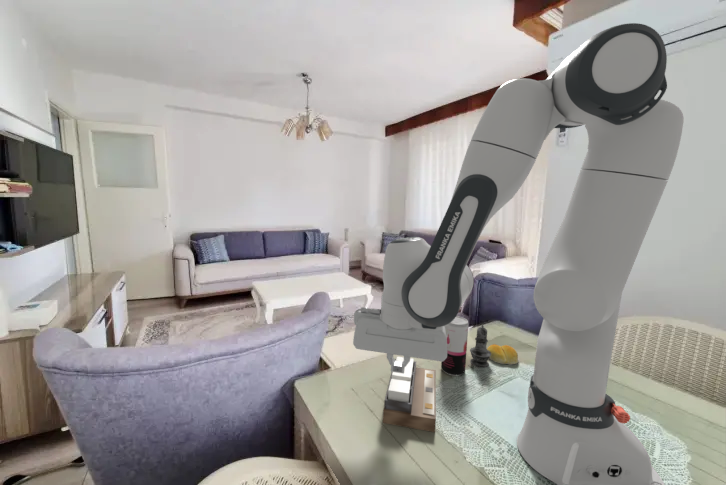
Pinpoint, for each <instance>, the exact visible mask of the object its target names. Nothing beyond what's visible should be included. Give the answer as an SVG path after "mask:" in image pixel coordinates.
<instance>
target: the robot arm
mask: <svg viewBox="0 0 726 485" xmlns="http://www.w3.org/2000/svg"><path fill="white" fill-rule="evenodd" d="M667 61H668V60H667V49H666V45H665V43H664V40H663V38H662V37H661V35H660V34H659V33H658V32H657V30H656V29H654V28H652V27H651V26H649V25H647V24H644V23H635V22H633V23H631V22H629V23H622V24H619V25H618V24H617V25H615V26H612V27H609V28H607V29H603V30H601V31H600V32H598V33H596V34H594V35H592V36H591V37H590V38H588V39H587V40H585V41H584V42H583V43H582V44H581V45H580V46H579V47H578V48H576V50H574V51H573V52H572V53H570V55H568V56H567V57H566V58H565V59H564V60H562V62H561V63H560V64H559V66H558V67H557V68H556V69H555V70H554V71H553V72H552V73H551V74H550V75H549V76H548V77H547V78H546V79H543V80H536V79H532V78H515V79H512V80H508V81H506V82H505V83H503V84H502V85H500V87H498V88H497V89H496V91H495V93H494V94H493V96H492V97H491V99H490V100H489V102H488V104H487V106H486V107H485V109H484V111H483V113H482V116H481V117H480V119H479V120H478V122H477V126H476V127H475V130H474V132H473V134H472V136H471V139H470V142H469V144H468V147H467V149H466V151H465V155H464V158H463V161H462V164H461V167H460V171H459V174H458V177H457V180H456V181H457V182H456V184H455V187H454V190H453V193H452V198H451V200H450V203H449V204H448V208H447V210H446V212H445V214H444V217H443V218H442V221H441V223H440V225H439V228H438V229H437V232H436V234H435V235H434V239H433V241H432V243H431V244H429V243H428V242H427V241H426V240H425V239H424V238H422V237H419V236H409V237H402V238H396V239H394V240H391V241H390V242H389V243H388V244H387V245H386V249H385V252H384V257H383V266H382V282H383V291H382V293H381V301H380V308H368V307H365V306H364V307H360V308H358V309H356V310H355V311H354V313H353V323H354V325H355V328H354V333H353V338H352V340H353V341H352V345H353V346H354V348H355V349H356V350H362V351H369V352H375V353H382V354H386V359H387V361H388V362H389V364H390V373H391V372H396V373H403V374H404V371H405V367H406V365H407V364H408V363H409V362H410V358H413V359H415V358H416V359H422V360H428V361H433V362H434V361H437V362H443V361H444V360H445V359H446V358H447V337H446V330H445V327H444V326H445V325H447V324H449V323H450V322H452V321H453V320H454V319H455V317H456V316H458V313H459V311H460V310H461V307H462V306H463V304H464V303H465V301H466V300H467V298H468V297H469V296H470V294H471V292H472V291H473V288H474V284H475V278H474V277H475V276H474V274H473V271H472V270H471V268H470V266H468V262H469V260H470V258H471V256H472V253H473V251H474V249H475V248H476V245H477V243H478V242H479V239H480V236H481V234H482V232H483V230H484V229H485V227H486V226H487V224H488V223H489V222H490V221H491V220H492V218H493V217H494V216H495V215H496V214H497V213H498V212H499V211H500V210H501V209H502V208H503V207H504V206H505V205H506V204H508V203H509V202H510V201H511V200H512V199H513V198H514V197H515V195H516V194H517V193H518V191H520V189H521V187H522V186H523V185H524V183H525V181H526V180H527V178H528V176H529V174H530V172H531V171H532V169H533V167H534V165H535V163H536V160H537V158H538V156H539V154H540V151H541V150H542V146H543V144H544V141H545V140H546V139H547V138H548V136H549V135H550V133H552V131H553V130H554V129H574V128H578V127H581V126H584V128H585V129H586V131H587V136H588V137H587V138H588V144H587V152H586V154H585V157H584V159H583V162H582V165H581V167H580V170H579V173H578V177H577V180H576V182H575V186H574V189H573V191H572V195H571V198H570V200H569V203H568V206H567V209H566V212H565V215H564V218H563V219H562V222H561V224H560V225H559V228H558V230H557V233H556V235H555V237H554V239H553V241H552V243H551V246H550V248H549V251H548V253H547V255H546V258H545V259H544V262H543V264H542V267H541V269H540V272H539V274H538V277H537V279H536V280H537V281H536V283H535V286H534V287H533V288H534V289H533V302H534V306H535V308H536V310H537V312H538V313H539V315H540V316H541V317H542V318H543V319H542V323H541V327H540V330H539V333H538V337H537V339H536V340H537V341H536V351H535V358H534V368H533V374H532V375H531V377H530V382H529V387H528V391H527V393H528V394H527V405H528V406H527V407H528V408H527V412H526V416H525V419H524V423H523V425H522V427H521V429H520V432H519V433H518V435H517V438H516V445H517V448H518V451H519V453H520V454H521V457H522V458H523V459H524V460H525V462H527V464H528V465H530V467H531V468H532V469H534V470H535V471H536V472H537V473H539V475H541V476H543V477H544V478H546V479H548V480H549V481H551V482H552V483H554V484H555V485H665V482H664V481H663V479H662V478H661V476H660V474H659V473H658V472H657V470H656V469H655V468H654V467H653V466H652V465H653V464H652V460H651V457H650V455H649V452H648V451H647V449H646V448H645V446H644V444H643V443H642V442H641V440H640V439H639V438H638V437H637V435H636V434H635V433H634V432H633V431H632V430H631V429H630V427H628V426H627V425H626V424H627V423H628V422H630V420H631V416H630V415H629V413H628V411H627V412H626V410H625V409H624V407H622V406H619V405H616V401H615V400H614V399H613V398H612V397H611V396H609V395H608V394H607V389H608V388H607V387H608V380H609V373H610V369H611V368H610V366H611V360H612V353H613V348H614V342H615V336H616V332H617V325H618V319H619V314H620V313H619V312H620V308H621V301H622V295H623V291H624V288H625V286H626V284H627V282H628V279H629V276H630V275H631V271H632V269H633V266H634V264H635V262H636V259H637V257H638V255H639V252H640V249H641V247H642V244H643V243H644V239H645V237H646V234H647V232H648V230H649V227H650V225H651V222H652V220H653V218H654V216H655V213H656V210H657V209H658V206H659V202H660V200H661V198H662V196H663V194H664V191H665V189H666V186H667V183H668V181H669V179H670V176H671V174H672V171H673V168H674V165H675V162H676V159H677V155H678V151H679V147H680V144H681V138H682V134H683V127H684V114H683V111H682V110H681V109H680V107H679V106H677V105H676V104H674V103H672V102H670V101H668V100H664V99H662V98H663V96H664V95H665V93H666V92H667V89H668V82H667V78H666V72H667V71H666V70H667V63H668V62H667ZM660 91H661V92H660ZM659 92H660V94H659V95H658V93H659ZM657 95H658V96H657ZM656 96H657V97H656ZM395 355H396V356H400V357H404V360H403V362H397V361H395V358H394V356H395Z"/></svg>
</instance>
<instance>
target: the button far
mask: <svg viewBox="0 0 726 485" xmlns="http://www.w3.org/2000/svg"><path fill="white" fill-rule="evenodd" d="M395 359H396V361H397V362H403V360H404V356H396V358H395ZM414 359H415V358H413V357H410V362H409V363H408V364H407V365H406V367H412V372H413V363H414V361H415V360H414Z"/></svg>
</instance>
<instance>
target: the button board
mask: <svg viewBox="0 0 726 485" xmlns="http://www.w3.org/2000/svg"><path fill="white" fill-rule="evenodd" d="M396 359H397V358H394V360H395V361H396ZM392 373H393V372H391V371H390V377H389V380H388V385H387V388H386V392H385V396H384V400H383V402H384V405H383V412H382V413H383V414H382V424H386V425H387V424H388V425H392V426H398V427H403V428H409V429H416V430H421V431H427V432H432V433H435V432H436V423H437V422H436V420H437V413H436V412H437V406H436V403H437V399H436V396H437V395H436V394H437V393H436V391H437V390H436V388H437V387H436V385H437V384H436V380H437V379H436V369H430V368H424V367H417V361H415V360H414V363H413V372H412V380H411V386H410V396H409V403H406V402H400V401H394V400H388V390H389V386H390V382H391V379H392Z"/></svg>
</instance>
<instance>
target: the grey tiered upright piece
mask: <svg viewBox="0 0 726 485" xmlns="http://www.w3.org/2000/svg"><path fill="white" fill-rule="evenodd" d="M474 340H475V346H474V347H471V348H470V349H469V352H470V356H471V357H472V358H471V359H470V360H469V362H470V364H471V365H472V366H474V367H476V368H480V369H487V368H488V367H489V366H490V363H489V362H488V360H490V359H489V358H490V356H491V352H490V351H489V350H487V348H488V347H487V343H488V342H489V339H488V329H486V328H485V326H484V324H481V327H478V328H477V330H476V337H475V338H474Z"/></svg>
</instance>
